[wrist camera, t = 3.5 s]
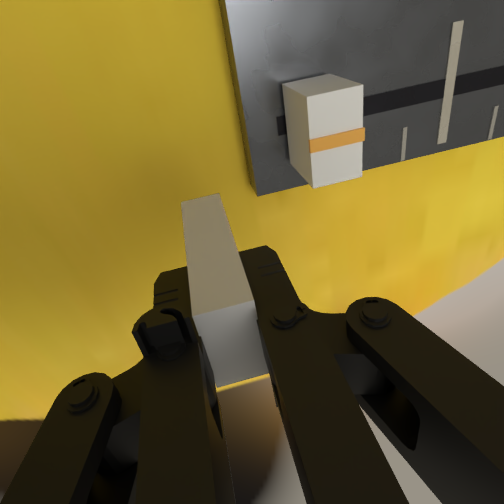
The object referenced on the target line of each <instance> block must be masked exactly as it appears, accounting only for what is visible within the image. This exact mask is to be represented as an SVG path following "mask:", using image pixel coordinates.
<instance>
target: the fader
mask: <svg viewBox="0 0 504 504" xmlns="http://www.w3.org/2000/svg"><path fill="white" fill-rule="evenodd" d="M282 88H283V98H284V108H285V117H286V127H287V137H288V146H289V156H290V164H291V165H292V166H293V167H294V168H295V169H296V170H297V171H298V173H299V174H300V175H301V176H302V177H303V178H304V179H305V180H306V181H307V182H308V184H309V185H310V186H311V187H312V188H313V189H314V188H318V187H322V186H326V185H330V184H334V183H338V182H342V181H346V180H350V179H354V178H358V177H362V148H363V141H365V128H364V127H363V84H360V83H357V82H354V81H351V80H348V79H345V78H342V77H339V76H336V75H333V74H325V75H321V76H316V77H311V78H307V79H302V80H297V81H293V82H288V83H284V84H282Z"/></svg>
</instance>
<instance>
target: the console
mask: <svg viewBox="0 0 504 504" xmlns="http://www.w3.org/2000/svg"><path fill="white" fill-rule="evenodd" d="M219 5H220V11H221V17H222V22H223V28H224V34H225V40H226V45H227V51H228V57H229V63H230V68H231V74H232V80H233V86H234V92H235V97H236V103H237V109H238V115H239V120H240V126H241V132H242V138H243V143H244V149H245V155H246V161H247V166H248V172H249V178H250V184H251V185H252V187H253V189H254V191H255V193H256V194H257V196H261V195H265V194H269V193H273V192H278V191H282V190H286V189H290V188H294V187H298V186H302V185H306V184H308V182H307V181H306V180H305V179H304V178H303V177H302V176H301V175H300V174H299V173H298V171H297V170H296V169H295V168H294V167H293V166H292V165H291V164H290V156H289V146H288V137H287V127H286V117H285V108H284V98H283V88H282V84H284V83H288V82H293V81H297V80H302V79H307V78H311V77H316V76H321V75H325V74H333V75H336V76H339V77H342V78H345V79H348V80H351V81H354V82H357V83H360V84H363V127H364V128H365V141H363V148H362V171H364V170H368V169H372V168H376V167H380V166H384V165H389V164H393V163H397V162H401V161H405V160H409V159H413V158H417V157H421V156H426V155H430V154H434V153H438V152H442V151H446V150H450V149H454V148H458V147H462V146H467V145H471V144H475V143H479V142H483V141H487V140H491V139H495V138H499V137H504V0H219Z"/></svg>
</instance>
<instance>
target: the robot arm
mask: <svg viewBox="0 0 504 504" xmlns="http://www.w3.org/2000/svg"><path fill="white" fill-rule="evenodd" d="M181 208H182V218H183V228H184V238H185V248H186V258H187V266H186V267H182V268H178V269H174V270H170V271H166V272H162V273H160V275H159V277H158V278H157V280H156V282H155V283H154V302H153V304H154V306H153V309H151V310H149V311H148V312H146V313H145V314H144V315H142V316H141V317H140V318H139V319H138V320H137V322H136V323H135V324H134V327H133V330H132V334H133V336H134V338H135V340H136V342H137V344H138V346H139V348H140V350H141V352H142V354H143V356H144V358H143V359H142V360H141V361H140V362H139V363H138V364H136V365H135V366H133V367H132V368H130V369H129V370H127V371H125V372H123V373H122V374H120V375H118V376H116V377H114V378H112V379H111V378H110V377H109V376H107V375H106V374H104V373H96V372H94V373H90V374H86V375H83V376H81V377H79V378H77V379H75V380H73V381H72V382H71V383H70V384H68V385H67V386H66V387H65V388H64V389H62V391H61V392H60V394H59V395H58V396H57V398H56V399H55V401H54V403H53V405H52V406H51V408H50V410H49V412H48V414H47V416H46V418H45V420H44V422H43V423H42V425H41V427H40V429H39V431H38V433H37V435H36V437H35V439H34V440H33V442H32V444H31V446H30V448H29V450H28V452H27V454H26V456H25V457H24V460H23V461H22V463H21V465H20V467H19V469H18V471H17V472H16V474H15V476H14V478H13V480H12V482H11V484H10V486H9V487H8V489H7V491H6V493H5V495H4V497H3V499H2V501H1V503H0V504H236V503H235V496H234V490H233V483H232V477H231V470H230V463H229V457H228V450H227V444H226V438H225V431H224V424H223V418H222V412H221V405H220V403H219V400H218V397H217V394H216V387H215V383H216V386H217V388H218V387H221V386H225V385H228V384H232V383H236V382H239V381H243V380H246V379H250V378H253V377H257V376H260V375H264V374H268V373H269V374H270V378H271V382H272V387H273V392H274V397H275V401H276V406H277V407H278V408H279V411H280V415H281V418H282V422H283V425H284V428H285V432H286V435H287V439H288V442H289V445H290V449H291V452H292V456H293V459H294V462H295V466H296V469H297V473H298V476H299V479H300V483H301V486H302V489H303V493H304V496H305V500H306V503H307V504H409V502H408V500H407V498H406V497H405V495H404V493H403V490H402V489H401V487H400V485H399V483H398V481H397V479H396V477H395V475H394V473H393V471H392V469H391V467H390V465H389V463H388V461H387V459H386V457H385V455H384V453H383V451H382V449H381V448H380V445H379V443H378V441H377V440H376V438H375V436H374V434H373V432H372V430H371V428H370V426H369V424H368V422H367V420H366V418H365V416H364V414H363V412H362V410H361V408H362V409H363V410H364V411H365V412H366V413H367V415H368V416H369V417H370V418H371V419H372V421H373V422H374V423H375V424H376V425H377V427H378V428H379V429H380V430H381V431H382V433H384V435H385V436H386V437H387V439H388V440H389V441H390V442H391V443H392V444H393V446H394V447H395V448H396V449H397V450H398V452H399V453H400V454H401V455H402V456H403V458H404V459H405V460H406V461H407V462H408V463H409V465H410V466H411V467H412V468H413V469H414V471H415V472H416V473H417V474H418V475H419V477H420V478H421V479H422V480H423V481H424V482H425V484H426V485H427V486H428V487H429V488H430V490H431V491H432V492H433V493H434V494H435V495H436V497H437V498H438V499H439V500H440V502H441V503H442V504H504V386H503V385H501V384H500V383H499V382H497V381H496V380H495V379H494V378H492V377H491V376H489V375H488V374H487V373H486V372H484V371H483V370H482V369H480V368H479V367H478V366H477V365H475V364H474V363H473V362H471V361H470V360H469V359H467V358H466V357H465V356H464V355H462V354H461V353H459V352H458V351H457V350H456V349H454V348H453V347H452V346H450V345H449V344H448V343H447V342H445V341H444V340H442V339H441V338H440V337H438V336H437V335H436V334H435V333H433V332H432V331H431V330H429V329H428V328H427V327H426V326H424V325H423V324H422V323H420V322H419V321H418V320H416V319H415V318H414V317H412V316H411V315H410V314H409V313H407V312H406V311H405V310H403V309H402V308H401V307H399V306H398V305H397V304H395V303H393V302H391V301H389V300H387V299H383V298H379V297H365V298H362V299H359V300H356V301H355V302H353V303H352V304H351V305H349V307H348V309H347V311H346V313H337V314H329V313H320V312H316V311H313V310H311V309H309V308H308V307H307V306H306V305H305V304H303V303H302V302H301V301H300V300H299V298H298V296H297V294H296V292H295V290H294V287H293V285H292V283H291V281H290V279H289V277H288V275H287V273H286V271H285V270H284V267H283V265H282V263H281V261H280V259H279V257H278V255H277V253H276V252H275V251H274V250H272V249H271V248H269V247H268V246H266V245H265V246H261V247H257V248H253V249H249V250H245V251H241V252H238V250H237V247H236V244H235V241H234V237H233V234H232V231H231V228H230V225H229V222H228V219H227V216H226V213H225V210H224V207H223V204H222V201H221V198H220V195H219V193H217V194H213V195H209V196H205V197H201V198H196V199H192V200H188V201H184V202H181ZM359 405H360V406H361V408H360V406H359Z"/></svg>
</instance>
